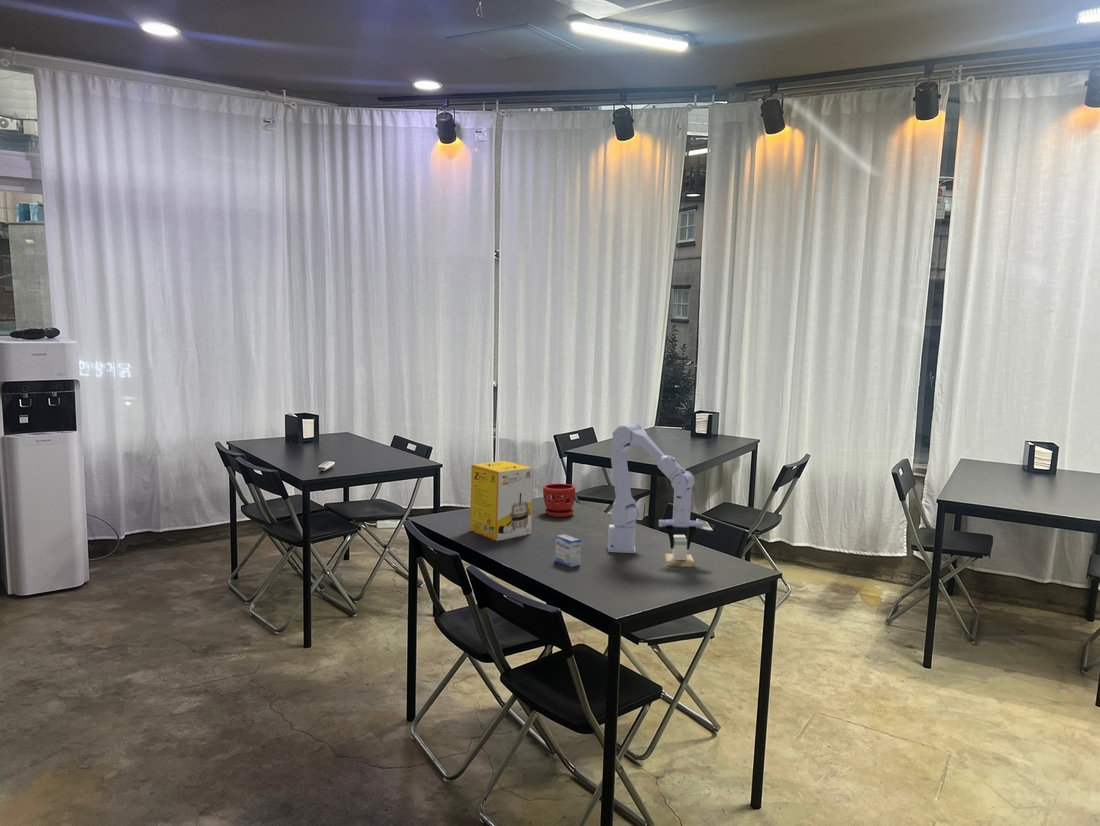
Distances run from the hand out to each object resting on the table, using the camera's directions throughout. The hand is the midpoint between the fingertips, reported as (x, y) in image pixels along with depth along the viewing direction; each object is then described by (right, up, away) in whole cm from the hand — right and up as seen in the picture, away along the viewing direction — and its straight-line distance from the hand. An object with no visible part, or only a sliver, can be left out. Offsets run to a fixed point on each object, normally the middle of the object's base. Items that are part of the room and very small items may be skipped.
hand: (679, 548), depth 265 cm
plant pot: (-40, +3, +59) cm, 72 cm away
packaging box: (-62, +1, +30) cm, 68 cm away
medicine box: (-37, -4, -4) cm, 38 cm away
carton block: (0, -3, 0) cm, 3 cm away
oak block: (0, -5, +1) cm, 5 cm away
